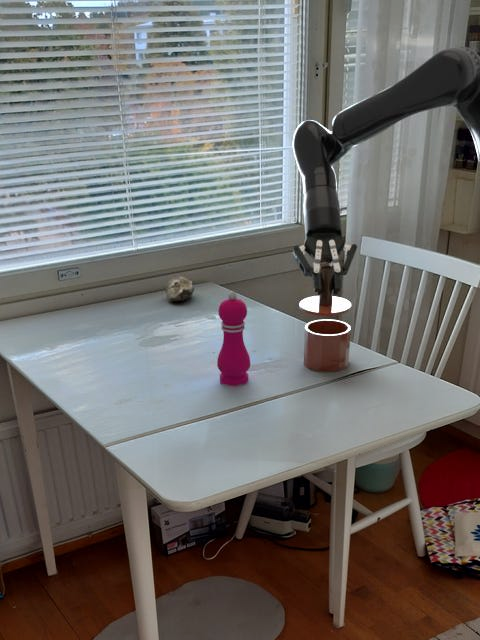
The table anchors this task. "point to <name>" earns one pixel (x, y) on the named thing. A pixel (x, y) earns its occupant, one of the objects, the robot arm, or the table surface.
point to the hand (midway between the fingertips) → (327, 292)
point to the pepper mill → (233, 342)
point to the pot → (326, 345)
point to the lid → (325, 298)
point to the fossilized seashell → (179, 289)
